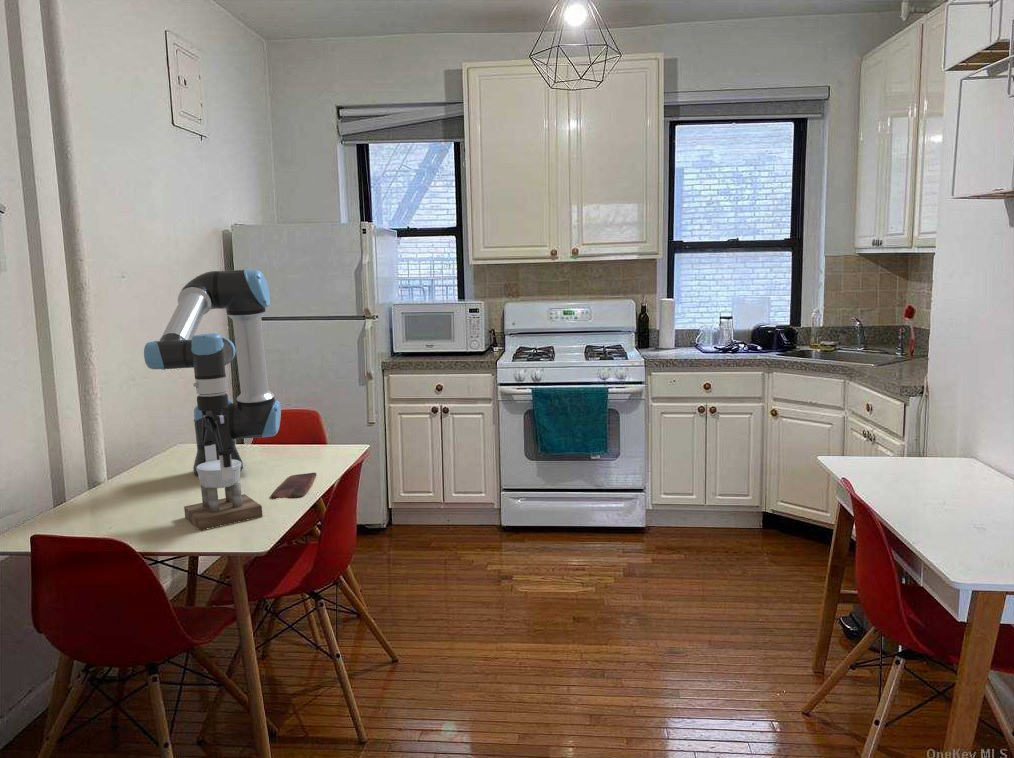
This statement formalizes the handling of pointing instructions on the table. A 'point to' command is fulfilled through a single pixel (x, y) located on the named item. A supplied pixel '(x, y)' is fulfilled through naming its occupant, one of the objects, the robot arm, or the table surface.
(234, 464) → the ramekin
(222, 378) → the robot arm
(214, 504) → the peg stand
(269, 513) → the table surface
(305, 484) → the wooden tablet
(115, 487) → the table surface
